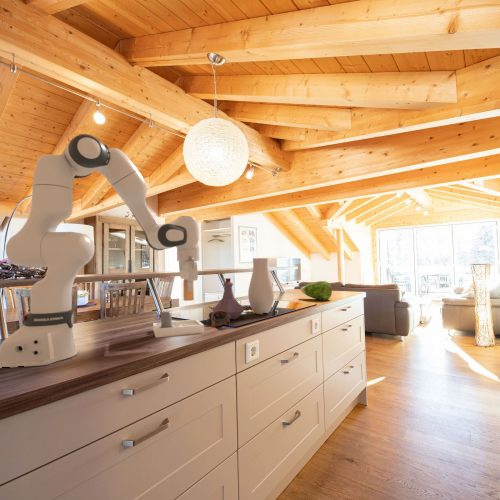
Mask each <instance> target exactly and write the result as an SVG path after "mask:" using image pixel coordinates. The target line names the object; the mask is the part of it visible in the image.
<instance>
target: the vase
mask: <svg viewBox="0 0 500 500" xmlns="http://www.w3.org/2000/svg"><path fill="white" fill-rule="evenodd" d="M268 265H269V262H268V257H256V258H255V257H254V258H252V266H253V267H252V272H251V273H252V274H251V278H250V282H249V285H248V286H249V287H248V295H247V297H248V302H249V305H250V308H251V310H252V311H253V313H254V314H256V315H264V314H263V313H267V314H268V313H270V311H271V308H272V306H273V303H274V298H275V294H274V293H275V291H274V287H273V282H272V280H271V276H270V272H269V266H268Z"/></svg>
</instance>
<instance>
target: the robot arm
mask: <svg viewBox="0 0 500 500" xmlns="http://www.w3.org/2000/svg"><path fill="white" fill-rule="evenodd" d="M94 172H96V173H99V174H101V175H102V176H103V177H104V178H105V179H106V180H107V181H108V183H109V184H110V186H111V187H112V188H113V190H114V191H115V192H116V193H117V195H118V196H119V197H120V198H121V200H122V201H123V202H124V204H125V205H126V207H127V208H128V209H129V210H130V212H131V214H132V215H133V217H134V218H135V221H137V223H138V224H139V226H140V227H141V229H142V231H143V233H144V236H145V237H144V238H145V241H146V244H147V245H148V247H149V248H150V249H152V250H154V251H163V250H166V249H172V248H175V247H176V255H177V256H176V261H177V262H178V269H179V276H180V279H182V280H187V283H188V287H187V291H188V292H192V287H193V285H194V282H195V281H198V277H199V275H198V272H199V271H198V263H197V262H199V261H200V248H199V247H200V246H199V241H200V235H199V234H200V232H199V224H198V221H197V220H196V219H195V217H192V216H188V215H179V216H178V217H177V218H176V219H174V220H172V221H170V222H165V223H163V224H160V223H158V222H157V220H156V219H155V217H154V215H153V214H152V212H151V211H150V208H149V207H148V205H147V203H146V202H147V201H146V197H147V196H146V195H147V192H148V186H147V183H146V181H145V178H144V177H143V175H142V173H141V172H140V170H138V168H137V166H136V165H135V164H134V163H133V161H132V160H131V159H130V158H129V157H128V156H127V155H126V154H125V152H123V151H122V150H121V149H119V148H117V147H110V148H109V146H108V145H106V144H105V143H103V142H102V141H101V140H100V139H98V138H97V137H96V136H93V135H92V134H87V133H83V134H78V135H76V136H74V137H73V138H71V140H70V141H69V143H68V144H67V145H66V146H65V148H64V150H63V152H62V153H61V154H53V153H51V154H50V153H49V154H43V155H41V156H39V157H38V158H37V161H36V164H35V167H34V172H33V179H32V191H31V192H32V193H31V195H32V196H31V205H30V206H31V207H30V212H29V215H28V217H27V220H26V221H25V223H24V225H23V226H22V227H21V228H20V230H19V231H18V232H16V233H15V234H14V235H13V236H11V237H10V238H9V239H8V241H7V243H6V245H5V255H6V257H7V259H8V260H9V262H10V263H12V264H13V265H16V266H21V267H28V268H47V272H46V274H45V275H44V277H43V278H42V279H40V280H38V281H37V282H35V283H33V284H32V286H31V288H30V291H29V292H30V293H29V294H30V295H29V296H30V303H29V304H30V307H29V310H30V312H26V313H25V314H24V315H22V317H21V322H22V326H20V327H19V328H18V329H17V330H15V331H14V332H13V333H12V334H10V335H9V336H7V338H5V339H4V340H3V341H2V342H1V344H0V369H3V368H2V367H10V368H19V367H18V366H24V367H36V366H39V367H40V366H47V365H50V364H53V363H56V362H59V361H63V360H66V359H67V360H68V359H69V358H72V357H74V356H75V355H77V354H78V350H77V346H76V344H75V343H76V342H75V339H74V332H73V327H74V316H75V315H74V310H73V308H72V303H73V302H72V299H73V297H72V296H73V286H74V283H75V279H76V277H77V275H78V274H79V272H80V270H81V269H82V268H83V267H84V266H86V265H87V264H88V263H90V261H91V260H92V259H93V257H94V255H95V250H96V249H95V243H94V241H93V240H92V238H91V237H90V236H89V235H88V234H86V233H81V232H75V231H56V230H57V228H58V227H59V225H60V224H61V223H63V221H66V220H67V219H68V218H70V217H71V215H72V213H73V202H74V201H73V200H74V199H73V197H74V194H73V193H74V192H73V191H74V184H73V183H74V179H82V178H87V177H89V176H91V174H93V173H94Z"/></svg>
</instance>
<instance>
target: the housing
mask: <svg viewBox="0 0 500 500" xmlns="http://www.w3.org/2000/svg"><path fill="white" fill-rule="evenodd" d="M204 326H205V325H204V323H202V322H201V321H200V320H198V319H188V320H187V319H186V320H176V321H174V320H173V321H172V320H171V327H168V328H161V321H160V322H153V323H152V331H153V334H154V336H155V338H164V337H174V336H175V337H176V336H185V335H186V336H187V335H194V334H204V332H205V327H204Z"/></svg>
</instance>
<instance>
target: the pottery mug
mask: <svg viewBox="0 0 500 500" xmlns="http://www.w3.org/2000/svg"><path fill="white" fill-rule="evenodd" d="M218 314H219V315H218ZM217 315H218V316H217ZM208 318H209V319H210V321H211V326H212V327H214V328H215V327H220V326H224V325H227V324H230V323H231V320H229V318H230V316H229V315H228V313H227V312H226V311H224V310H217V311H215V312H213V311H210V312H209V313H208ZM230 325H231V324H230Z"/></svg>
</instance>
